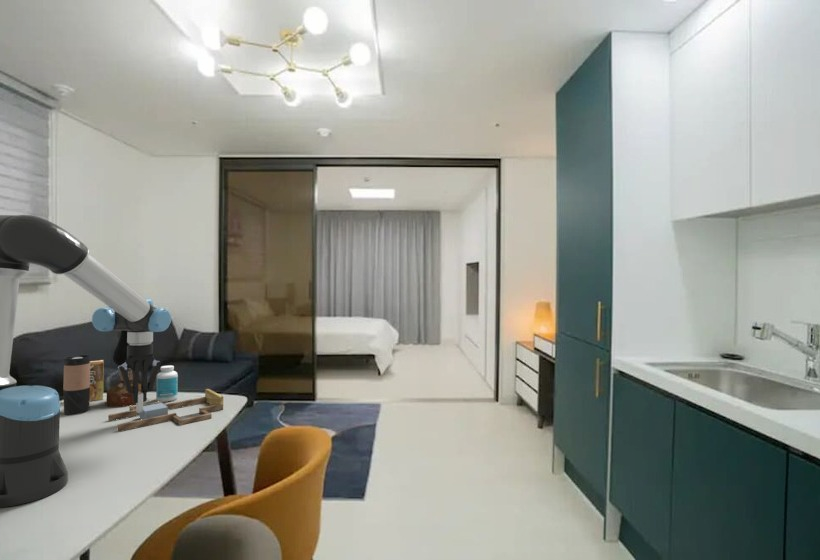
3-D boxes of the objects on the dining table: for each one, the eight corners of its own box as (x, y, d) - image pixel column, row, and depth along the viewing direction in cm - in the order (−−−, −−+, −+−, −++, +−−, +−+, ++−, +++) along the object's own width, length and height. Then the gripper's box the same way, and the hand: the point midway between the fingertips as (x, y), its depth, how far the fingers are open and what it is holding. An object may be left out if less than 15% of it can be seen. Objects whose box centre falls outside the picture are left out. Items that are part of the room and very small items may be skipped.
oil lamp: (115, 406, 172) (102, 309, 174) (156, 397, 175) (143, 302, 178) (99, 412, 158) (85, 307, 161) (144, 403, 162) (129, 300, 165)
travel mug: (78, 415, 150) (79, 359, 150) (57, 414, 150) (58, 358, 150) (94, 408, 158) (95, 355, 157) (74, 408, 158) (75, 354, 158)
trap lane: (124, 437, 130) (124, 421, 130) (103, 415, 150) (103, 401, 150) (231, 413, 154) (231, 400, 154) (201, 397, 174) (201, 385, 174)
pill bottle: (181, 399, 171) (181, 366, 171) (162, 403, 165) (162, 369, 165) (171, 396, 175) (171, 363, 175) (152, 400, 169) (152, 366, 169)
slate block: (145, 423, 144) (145, 411, 144) (139, 418, 148) (139, 406, 148) (167, 418, 149) (167, 407, 149) (161, 413, 154) (161, 402, 153)
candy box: (103, 397, 172) (103, 359, 172) (103, 399, 169) (103, 361, 169) (75, 400, 167) (75, 362, 167) (75, 403, 164) (75, 363, 163)
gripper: (157, 340, 153) (157, 405, 153) (115, 344, 143) (114, 413, 144) (164, 342, 148) (163, 409, 148) (120, 346, 138) (119, 418, 138)
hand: (139, 411), depth 146 cm, fingers closed
